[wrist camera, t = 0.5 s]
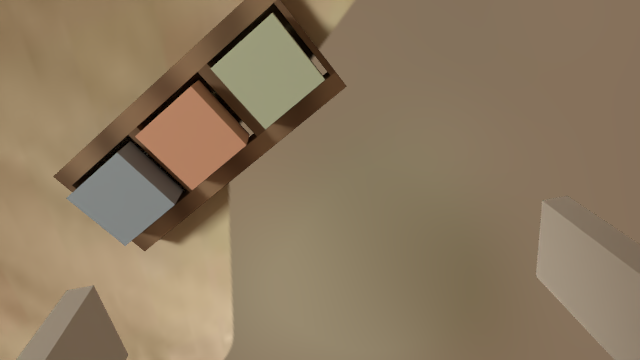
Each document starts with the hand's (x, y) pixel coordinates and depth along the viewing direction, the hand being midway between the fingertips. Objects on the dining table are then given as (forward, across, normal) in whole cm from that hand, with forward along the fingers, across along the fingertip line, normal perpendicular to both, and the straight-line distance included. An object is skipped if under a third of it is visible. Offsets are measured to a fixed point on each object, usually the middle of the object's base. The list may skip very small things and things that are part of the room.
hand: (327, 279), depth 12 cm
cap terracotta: (+24, -9, -1) cm, 26 cm away
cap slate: (+24, -16, -5) cm, 29 cm away
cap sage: (+24, -2, +3) cm, 24 cm away
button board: (+26, -9, -1) cm, 27 cm away
